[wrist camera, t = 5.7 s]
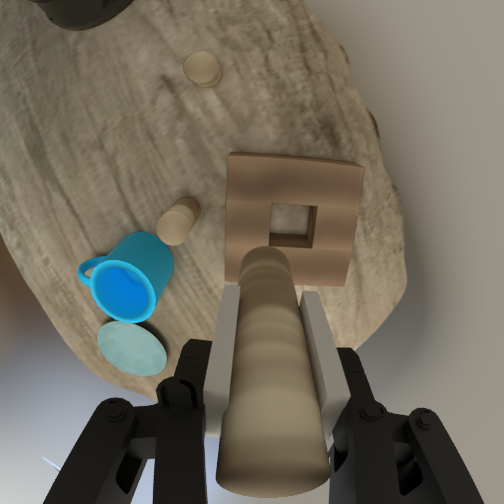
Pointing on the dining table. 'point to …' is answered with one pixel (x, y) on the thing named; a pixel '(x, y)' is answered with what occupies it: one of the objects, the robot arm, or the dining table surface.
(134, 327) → the saucer
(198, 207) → the dowel mid
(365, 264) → the dining table surface
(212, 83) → the dowel short
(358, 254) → the dining table surface
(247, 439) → the dowel long
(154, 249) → the mug
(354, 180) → the collar block
